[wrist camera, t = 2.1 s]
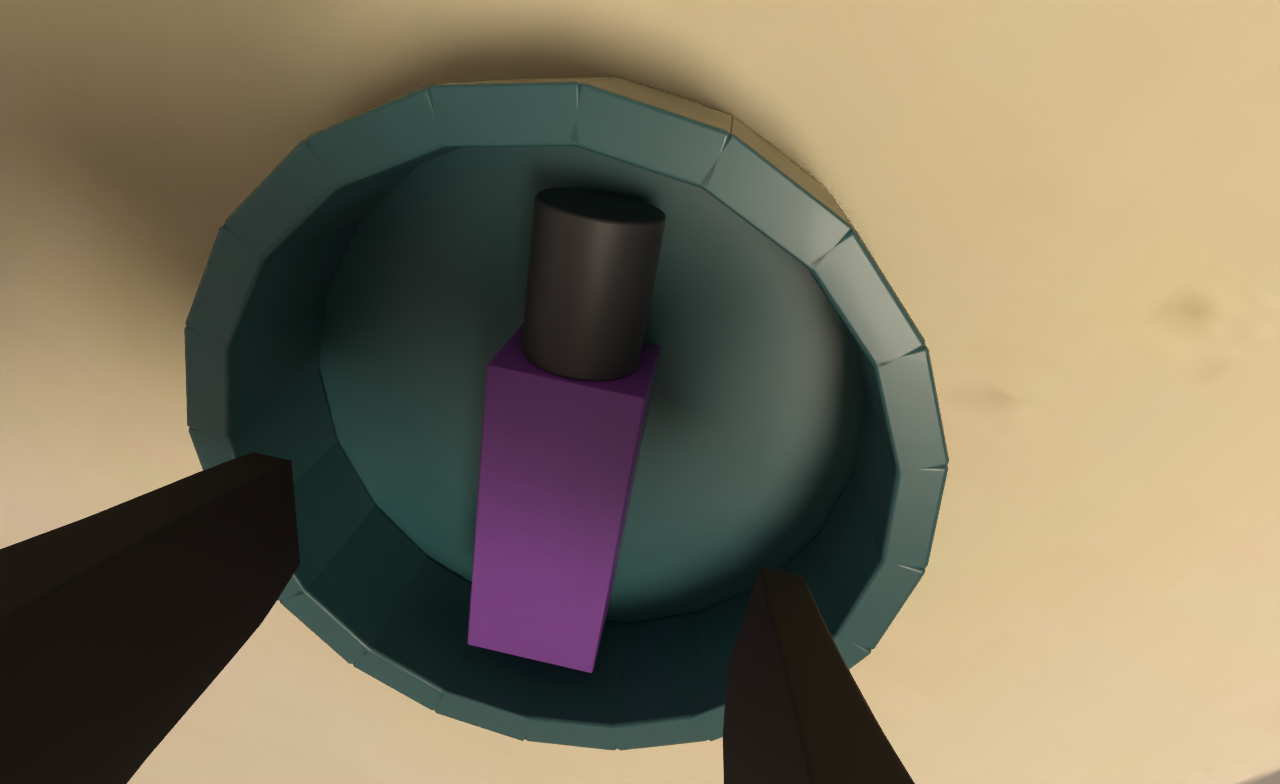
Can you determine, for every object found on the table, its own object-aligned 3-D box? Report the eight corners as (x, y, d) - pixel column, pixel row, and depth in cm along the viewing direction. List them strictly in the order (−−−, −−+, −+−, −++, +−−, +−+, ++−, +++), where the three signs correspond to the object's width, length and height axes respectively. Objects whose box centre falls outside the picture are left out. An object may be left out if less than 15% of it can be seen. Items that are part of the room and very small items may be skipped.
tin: (656, 701, 19) (639, 828, 16) (226, 442, 17) (108, 530, 14) (1045, 358, 13) (1142, 452, 10) (465, -97, 11) (357, -159, 8)
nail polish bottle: (611, 595, 17) (592, 674, 14) (501, 570, 17) (466, 645, 15) (689, 205, 12) (678, 236, 10) (539, 176, 12) (497, 199, 10)
